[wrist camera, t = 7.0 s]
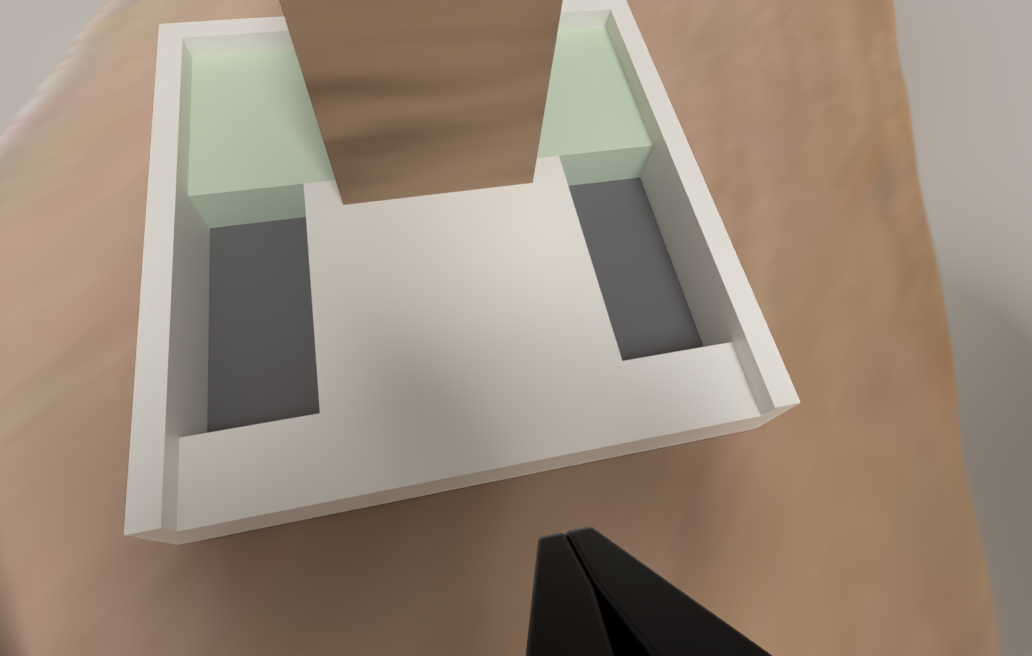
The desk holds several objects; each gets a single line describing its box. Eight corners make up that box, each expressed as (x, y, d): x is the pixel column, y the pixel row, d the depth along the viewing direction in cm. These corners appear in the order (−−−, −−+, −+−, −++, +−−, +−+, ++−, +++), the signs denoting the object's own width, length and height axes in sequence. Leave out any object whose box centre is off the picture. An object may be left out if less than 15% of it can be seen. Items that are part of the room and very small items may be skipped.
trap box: (754, 429, 23) (800, 402, 20) (178, 545, 20) (123, 535, 16) (608, 53, 32) (623, -6, 29) (193, 87, 28) (159, 24, 25)
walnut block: (532, 182, 24) (572, -59, 15) (343, 204, 23) (265, -44, 14) (496, 54, 28) (512, -208, 19) (328, 67, 26) (257, -208, 17)
